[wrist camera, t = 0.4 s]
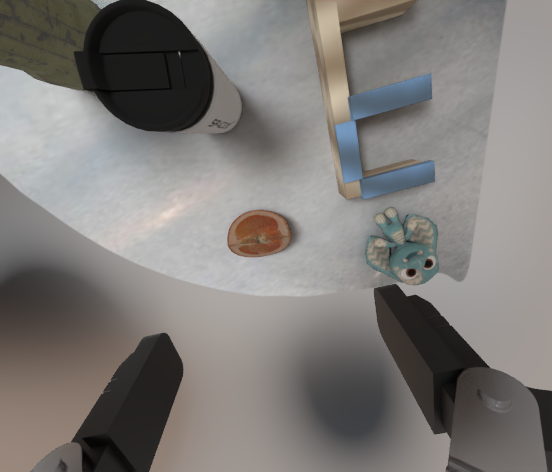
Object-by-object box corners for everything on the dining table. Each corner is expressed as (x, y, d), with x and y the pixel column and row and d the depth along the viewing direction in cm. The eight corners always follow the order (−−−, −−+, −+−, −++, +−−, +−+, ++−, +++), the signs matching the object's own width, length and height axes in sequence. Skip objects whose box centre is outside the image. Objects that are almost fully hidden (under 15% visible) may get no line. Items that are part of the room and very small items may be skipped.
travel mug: (184, 78, 31) (52, -7, 12) (240, 75, 31) (191, -14, 12) (193, 134, 33) (92, 135, 15) (244, 132, 33) (209, 129, 15)
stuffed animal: (434, 191, 31) (479, 273, 33) (409, 189, 38) (447, 256, 40) (354, 237, 33) (399, 313, 35) (344, 227, 40) (382, 290, 42)
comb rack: (290, -87, 26) (294, -136, 21) (394, -123, 25) (422, -182, 20) (338, 194, 36) (348, 203, 32) (413, 175, 35) (434, 181, 31)
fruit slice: (286, 203, 37) (288, 213, 32) (292, 246, 39) (294, 261, 35) (228, 211, 37) (221, 222, 32) (237, 254, 40) (232, 270, 35)
